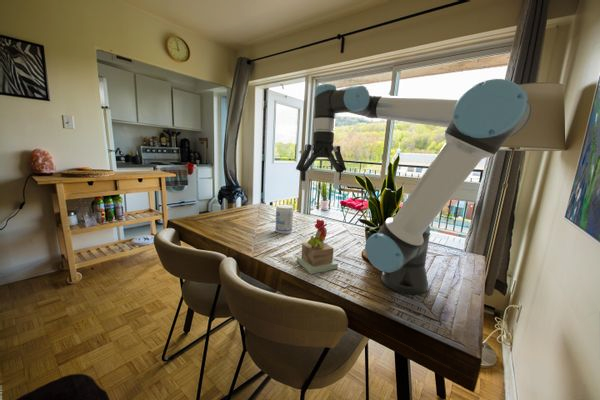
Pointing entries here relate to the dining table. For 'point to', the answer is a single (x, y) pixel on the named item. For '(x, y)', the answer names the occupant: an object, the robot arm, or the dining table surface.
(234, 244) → the dining table surface
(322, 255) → the walnut block
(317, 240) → the bird rattle
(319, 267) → the base plate
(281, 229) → the supplement tub
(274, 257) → the dining table surface
